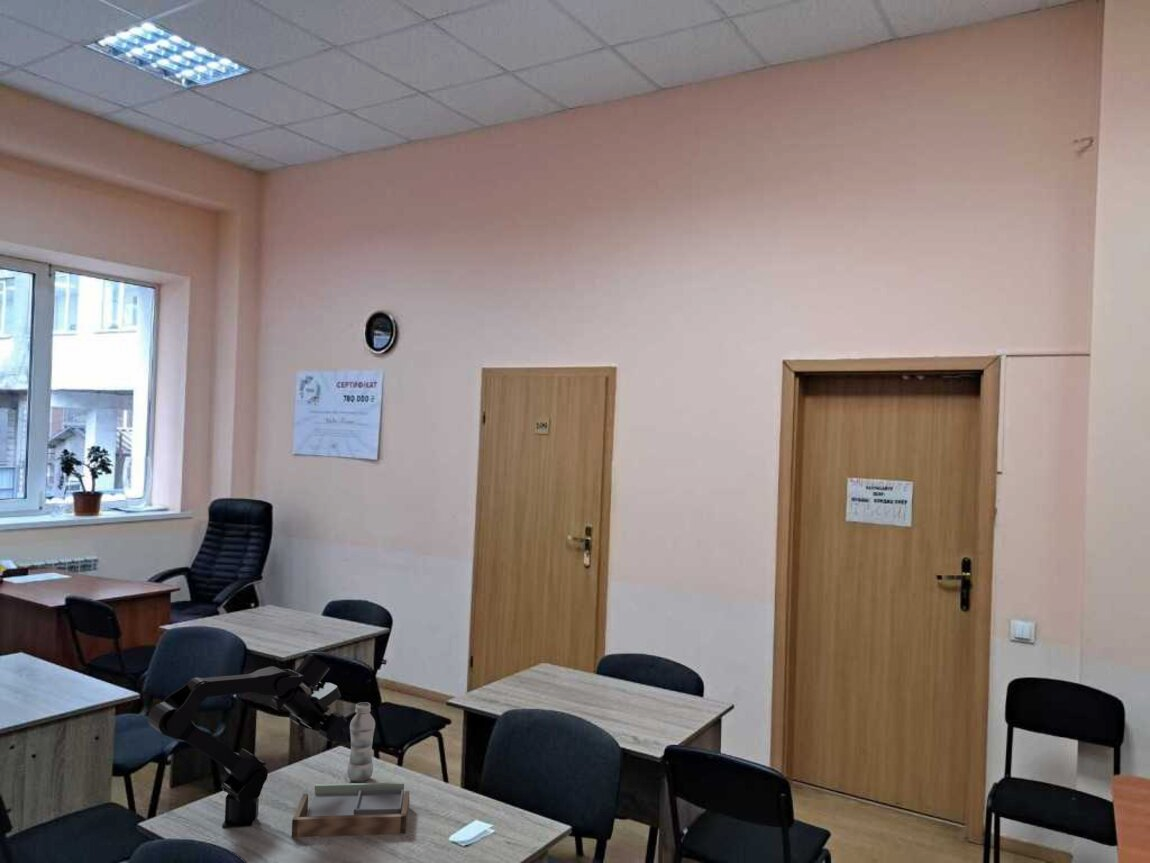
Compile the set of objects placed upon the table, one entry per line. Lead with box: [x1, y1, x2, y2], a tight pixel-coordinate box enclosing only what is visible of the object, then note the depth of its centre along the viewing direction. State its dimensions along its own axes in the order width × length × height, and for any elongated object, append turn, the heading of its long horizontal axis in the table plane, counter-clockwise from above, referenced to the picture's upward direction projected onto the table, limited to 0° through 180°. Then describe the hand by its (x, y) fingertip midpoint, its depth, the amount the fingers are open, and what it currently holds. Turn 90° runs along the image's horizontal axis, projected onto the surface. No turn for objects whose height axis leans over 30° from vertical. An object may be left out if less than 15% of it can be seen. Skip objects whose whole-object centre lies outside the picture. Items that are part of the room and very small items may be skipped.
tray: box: [305, 781, 405, 817], centre depth 197 cm, size 22×13×3 cm, turn 98°
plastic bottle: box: [346, 701, 376, 783], centre depth 213 cm, size 6×7×20 cm
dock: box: [291, 790, 410, 838], centre depth 190 cm, size 25×13×4 cm, turn 98°
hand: (337, 736), depth 207 cm, fingers open, 9 cm apart
